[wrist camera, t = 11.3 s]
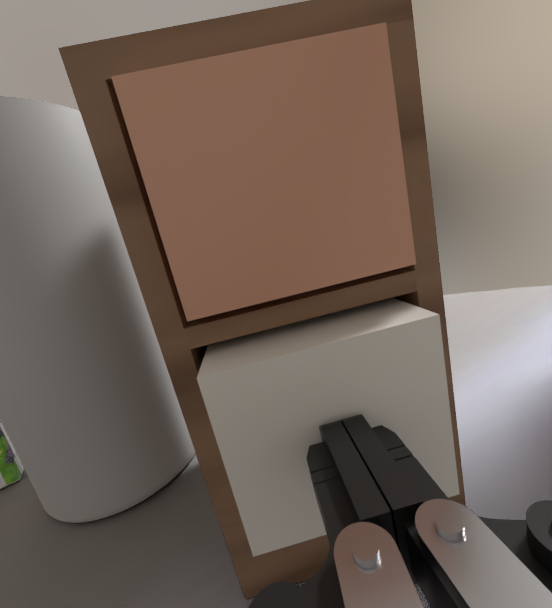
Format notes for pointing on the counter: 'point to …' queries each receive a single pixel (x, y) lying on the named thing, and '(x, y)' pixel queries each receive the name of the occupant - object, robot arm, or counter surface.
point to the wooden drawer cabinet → (201, 332)
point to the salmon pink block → (273, 167)
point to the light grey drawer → (323, 406)
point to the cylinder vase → (76, 329)
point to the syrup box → (8, 461)
